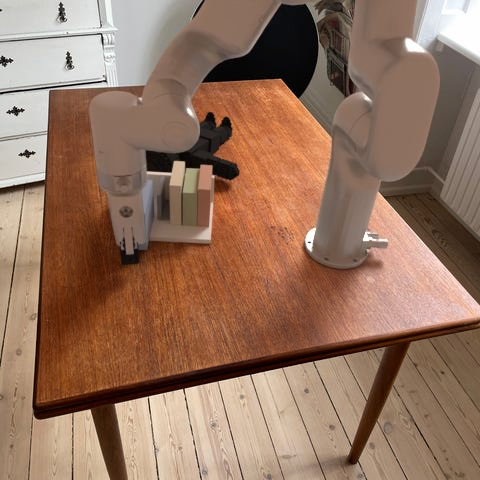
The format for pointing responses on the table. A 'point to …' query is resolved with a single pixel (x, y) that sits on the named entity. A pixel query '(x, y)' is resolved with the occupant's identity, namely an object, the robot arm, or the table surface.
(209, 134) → the toy
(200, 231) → the shelf
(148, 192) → the grey block
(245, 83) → the table surface
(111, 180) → the robot arm
